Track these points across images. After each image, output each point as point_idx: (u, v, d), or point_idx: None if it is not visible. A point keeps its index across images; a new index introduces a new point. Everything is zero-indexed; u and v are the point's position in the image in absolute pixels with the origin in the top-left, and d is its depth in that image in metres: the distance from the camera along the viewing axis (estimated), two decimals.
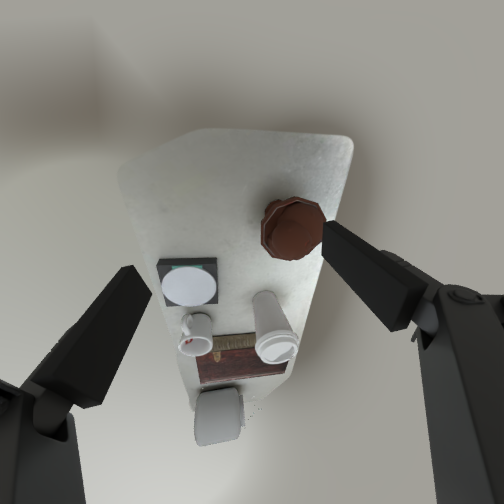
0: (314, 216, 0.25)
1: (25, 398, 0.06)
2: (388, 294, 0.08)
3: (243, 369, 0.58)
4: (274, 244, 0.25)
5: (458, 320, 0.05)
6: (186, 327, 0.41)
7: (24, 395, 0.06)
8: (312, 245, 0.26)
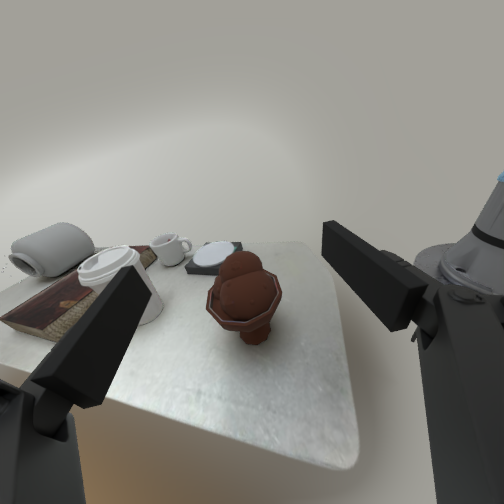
0: (262, 286, 0.22)
1: (25, 398, 0.06)
2: (388, 294, 0.08)
3: None
4: None
5: (458, 320, 0.05)
6: (184, 239, 0.51)
7: (24, 395, 0.06)
8: (229, 280, 0.22)
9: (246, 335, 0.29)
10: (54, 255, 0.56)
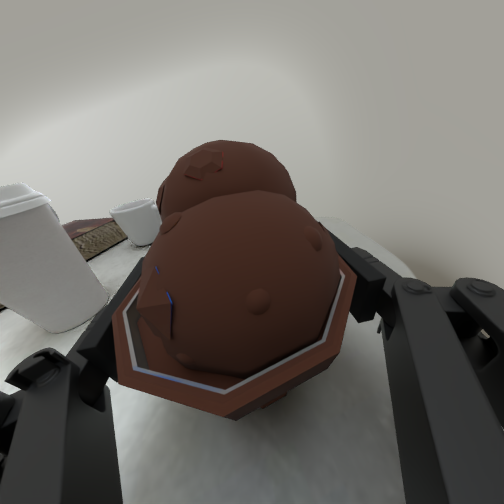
0: (304, 240, 0.05)
1: (72, 368, 0.06)
2: None
3: None
4: None
5: (411, 310, 0.06)
6: None
7: (71, 365, 0.06)
8: None
9: None
10: None
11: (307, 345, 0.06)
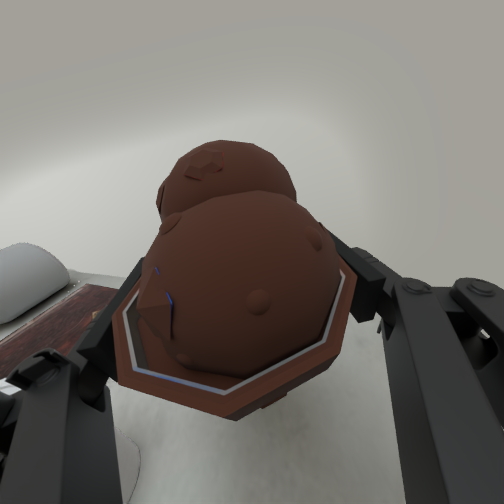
0: (304, 240, 0.05)
1: (72, 368, 0.06)
2: None
3: (18, 346, 0.29)
4: None
5: (411, 310, 0.06)
6: None
7: (71, 365, 0.06)
8: None
9: None
10: None
11: (307, 346, 0.06)
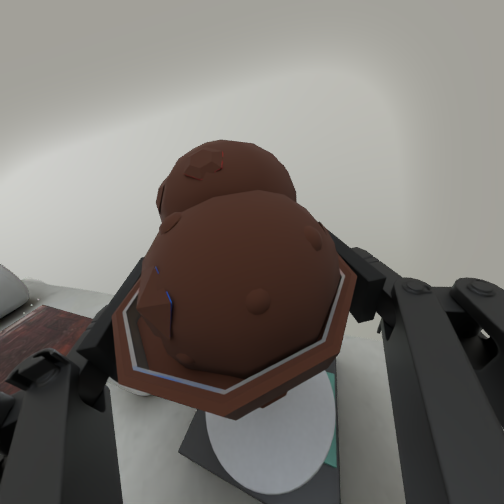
0: (304, 240, 0.05)
1: (72, 368, 0.06)
2: None
3: None
4: None
5: (411, 310, 0.06)
6: None
7: (71, 365, 0.06)
8: None
9: None
10: None
11: (307, 345, 0.06)
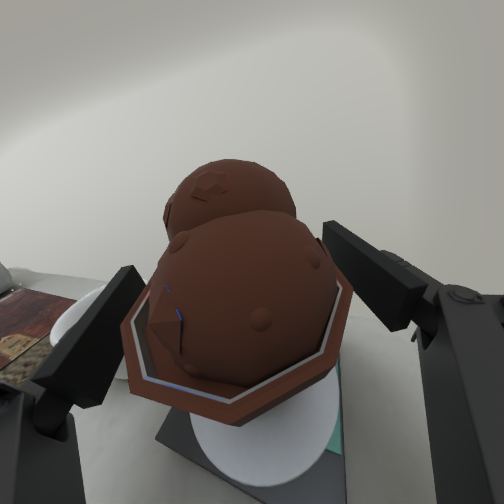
0: (303, 259, 0.06)
1: (25, 398, 0.06)
2: (388, 294, 0.08)
3: None
4: None
5: (458, 320, 0.05)
6: None
7: (24, 395, 0.06)
8: None
9: None
10: None
11: (306, 356, 0.06)
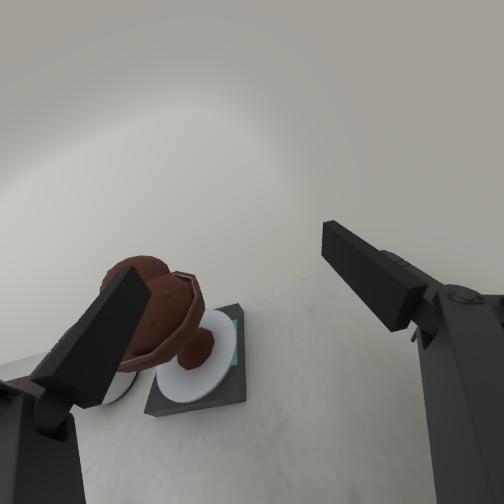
0: (162, 296, 0.15)
1: (25, 398, 0.06)
2: (388, 294, 0.08)
3: None
4: None
5: (458, 320, 0.05)
6: None
7: (24, 395, 0.06)
8: None
9: (184, 360, 0.22)
10: None
11: None
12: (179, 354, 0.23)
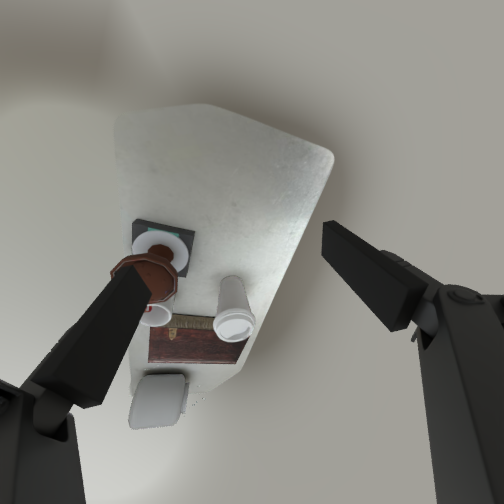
0: (149, 277, 0.28)
1: (25, 398, 0.06)
2: (388, 294, 0.08)
3: (196, 353, 0.58)
4: None
5: (458, 320, 0.05)
6: None
7: (24, 395, 0.06)
8: None
9: (168, 261, 0.40)
10: (174, 390, 0.61)
11: None
12: None
